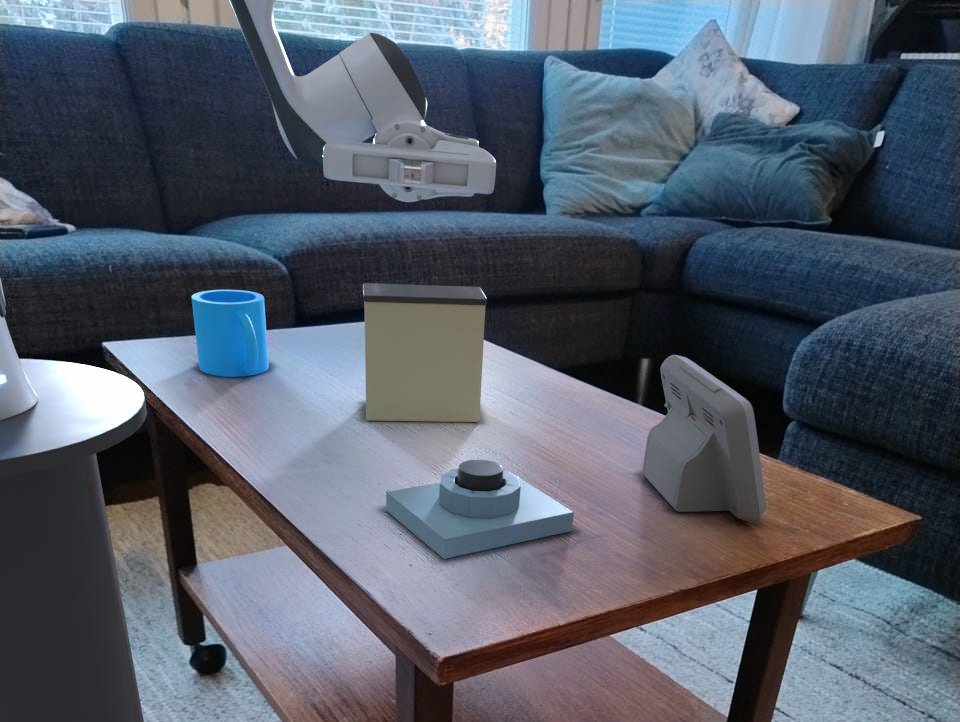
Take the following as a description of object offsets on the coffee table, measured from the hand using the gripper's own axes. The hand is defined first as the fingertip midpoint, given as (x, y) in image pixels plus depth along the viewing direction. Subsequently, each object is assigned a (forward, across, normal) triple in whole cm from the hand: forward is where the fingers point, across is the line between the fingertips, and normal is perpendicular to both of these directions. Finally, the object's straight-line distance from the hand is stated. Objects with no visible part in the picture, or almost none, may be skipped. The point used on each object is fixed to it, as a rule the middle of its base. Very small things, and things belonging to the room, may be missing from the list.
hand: (412, 175), depth 101 cm
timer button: (+46, +4, +17) cm, 49 cm away
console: (+17, +1, +21) cm, 27 cm away
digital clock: (+39, +26, +20) cm, 51 cm away
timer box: (+46, +4, +20) cm, 50 cm away
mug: (+3, -20, +23) cm, 30 cm away
